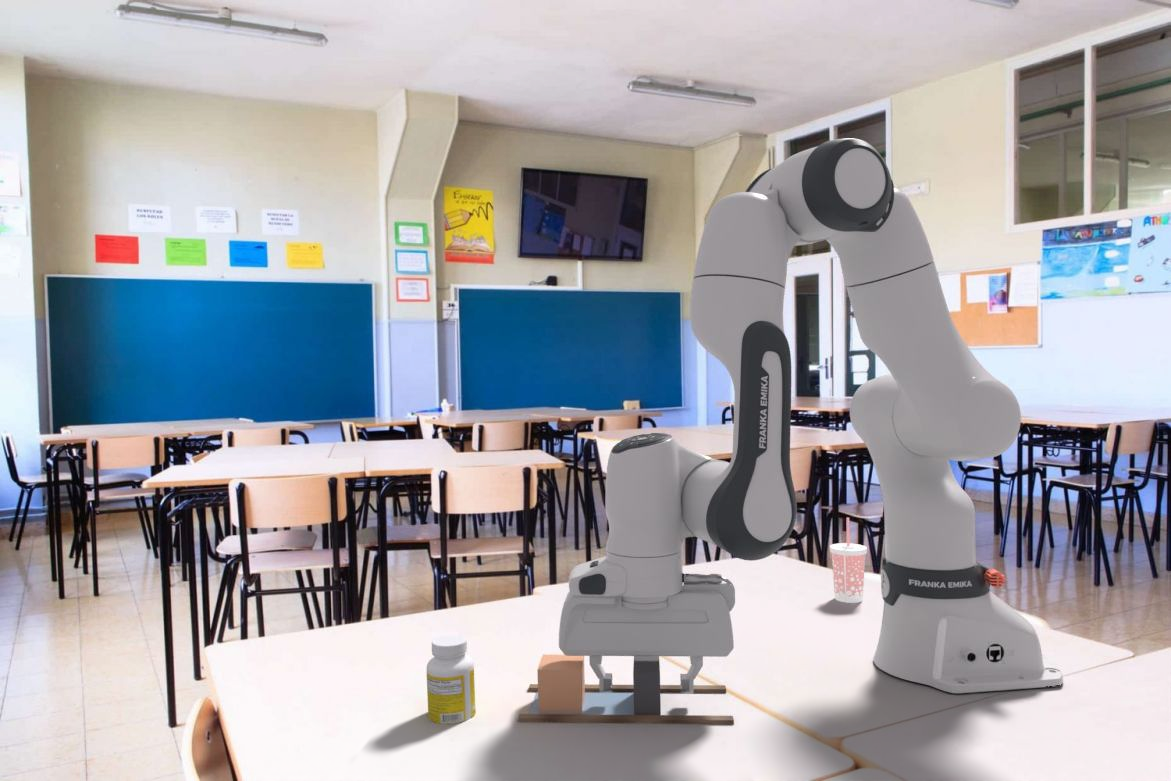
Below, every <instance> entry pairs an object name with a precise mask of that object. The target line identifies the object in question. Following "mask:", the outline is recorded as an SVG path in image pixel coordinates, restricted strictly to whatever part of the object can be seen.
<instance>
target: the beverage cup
mask: <svg viewBox="0 0 1171 781" xmlns="http://www.w3.org/2000/svg"><path fill="white" fill-rule="evenodd" d="M850 530H851V529H850V517H846V542H842V543H840V542H838V543H832V544H830V545H829V552H830V553H831V563H832V564H831V565H832V576H833V577H832V578H833V590H834V591H833V592H834V599H835V600H836V601H838V602H842V603H848V604H849V603H850V604H857V603H861V602H863V601H864V599H863V598H864V586H865V584H864V583H865V565H866V554H867V552H868V547H867V546H866V545H862V544H860V543H859V544H857V543H851V542H850V536H851V535H850V534H851V533H850Z"/></svg>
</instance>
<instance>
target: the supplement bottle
mask: <svg viewBox="0 0 1171 781" xmlns="http://www.w3.org/2000/svg"><path fill="white" fill-rule="evenodd" d="M467 640H468V639H467V638H466V637H465V636H463V635H460V634H448V635H442V636H438V637H436V638H434V639H432V640H431V654H432V656H433V657H432V658H431V659H430V660H428V662H427V664H426V689H427V690H426V691H427V715H428V717H427V718H428V719H429V720H430V722H433V723H434V724H435V723H436V724H440V725H455V724H459V723H464V722H467V721H468V720H471V719H473V717H475V715H476V690H475V689H476V688H475V687H476V686H475V684H476V683H475V666H474V665H475V664H474V660H473V659H472V657H471V656H469V655H468V654H466V653H468V650H467V649H468V642H467Z"/></svg>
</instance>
